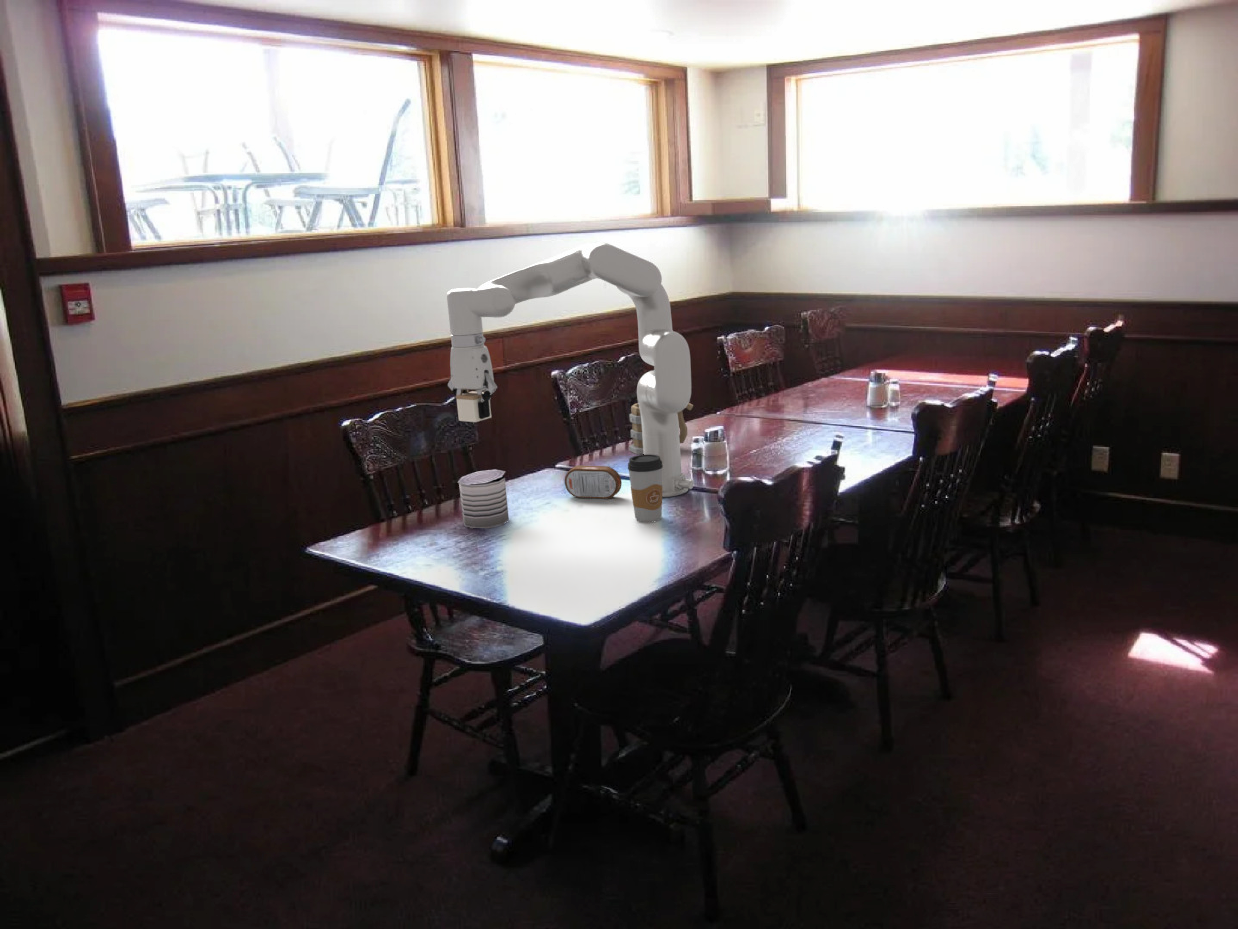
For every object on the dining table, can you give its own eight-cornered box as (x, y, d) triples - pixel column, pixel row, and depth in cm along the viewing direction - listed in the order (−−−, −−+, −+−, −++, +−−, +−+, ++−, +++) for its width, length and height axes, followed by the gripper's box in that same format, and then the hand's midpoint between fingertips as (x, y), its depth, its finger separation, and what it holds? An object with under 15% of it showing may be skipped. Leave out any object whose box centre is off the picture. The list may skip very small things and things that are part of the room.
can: (506, 527, 256) (501, 479, 253) (459, 530, 256) (454, 482, 253) (511, 514, 267) (507, 467, 264) (466, 516, 267) (461, 470, 264)
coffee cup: (641, 526, 249) (637, 464, 246) (625, 518, 256) (620, 457, 253) (672, 519, 253) (668, 458, 249) (655, 511, 260) (651, 452, 256)
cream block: (491, 417, 256) (489, 392, 254) (475, 422, 251) (473, 396, 250) (474, 416, 259) (472, 391, 258) (458, 420, 255) (455, 395, 253)
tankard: (624, 454, 321) (621, 405, 318) (639, 444, 332) (636, 397, 329) (687, 456, 314) (685, 405, 310) (700, 446, 325) (698, 397, 321)
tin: (623, 497, 275) (620, 465, 273) (619, 500, 272) (616, 468, 270) (568, 495, 280) (566, 464, 278) (564, 498, 277) (561, 467, 275)
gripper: (505, 339, 249) (512, 415, 253) (452, 338, 259) (460, 411, 263) (483, 344, 243) (491, 422, 247) (430, 342, 253) (438, 417, 257)
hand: (475, 416), depth 255 cm, fingers closed on cream block, 5 cm apart
